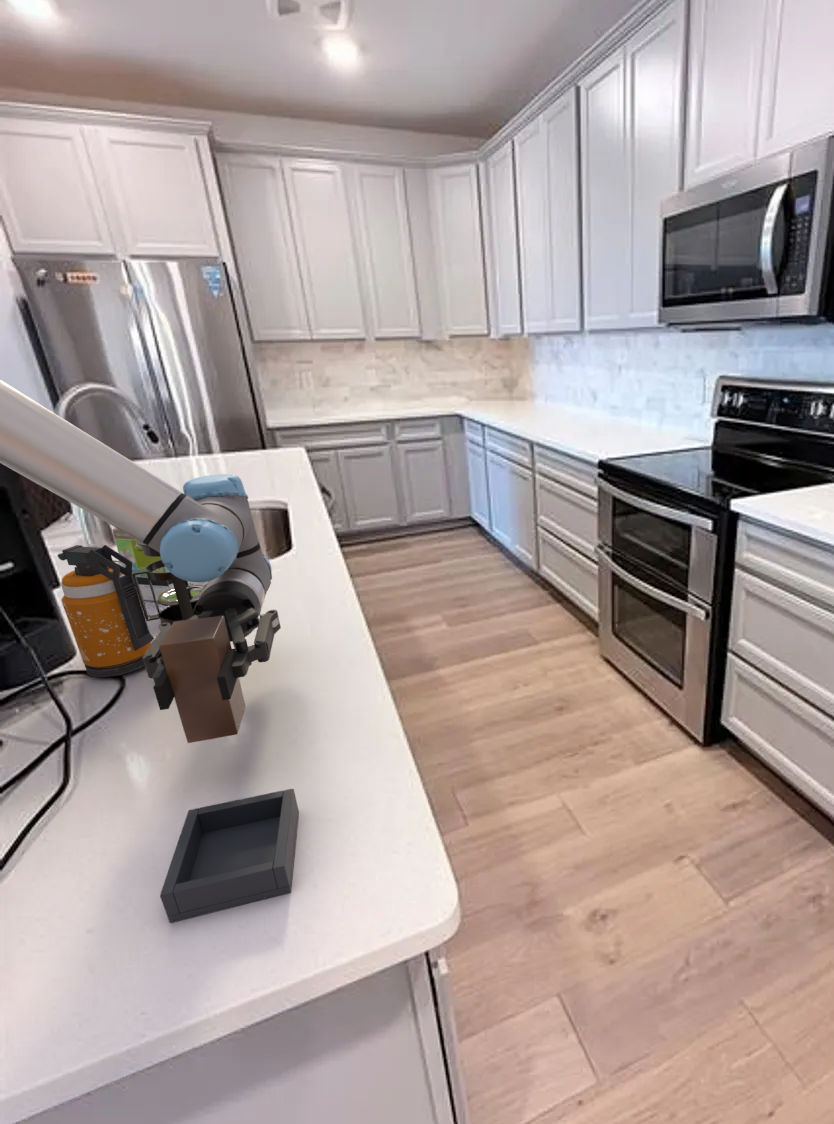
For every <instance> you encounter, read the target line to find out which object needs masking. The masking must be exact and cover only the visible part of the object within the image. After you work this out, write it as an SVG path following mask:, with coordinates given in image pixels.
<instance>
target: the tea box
mask: <svg viewBox="0 0 834 1124" xmlns="http://www.w3.org/2000/svg"><path fill="white" fill-rule="evenodd" d="M112 534H113V537H114V541H115V545H116V548H117V553H119V554H120V555H122V556H124V557H125V558H127V559H128V560H130V561H131V562H133V565H132V573H133V571H136V570H141V569H145V568H146V567H147V566H148V565H149V564H151V563H153V562H156V561H159V560H161V556H160V557H152V556H146V555H144V553H143V550H142V547H141V546H139V545H138V544H137V539H135V538H133V537H131V536H130V535H128V534H126V533H124V532H123V531H121V530H119V529H117V528H115V527H114V528H112ZM121 566H123V567H126V565H125V564H124V563H121ZM152 572H153V573H166V572H170V571H169V570H168V569H167V568H166V567H162V568H159V569H156V570H154V571H152ZM132 577H133V576H132ZM136 577H137V581H138V584H139V587H140V590H141V594H142V597H143V600H144V601H149V602H150V601H151V602H155V601H154V598H153V595H152V591H151V588H150V585H149V581H148V578H147V575H146V573H145V574H139V575H136ZM150 580H151V579H150ZM208 582H209V581H207V582H189V581H188V585H207V584H208ZM151 583H152V586H153V590H154V593H155V597H157V596H158V595H159V594H161V593H163V592H165V591H167V590H170V589H173V588H174V586H173V582H172V580H151ZM139 600H140V599H139Z"/></svg>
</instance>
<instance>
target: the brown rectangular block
mask: <svg viewBox="0 0 834 1124" xmlns="http://www.w3.org/2000/svg"><path fill="white" fill-rule="evenodd" d="M159 647H160V650H161V654H162V657H163V660H164V664H165V667H166V671H167V674H168V677H169V681H170V684H171V688H172V691H173V695H174V702H175V704H176V708H177V711H178V715H179V718H180V722H181V725H182V728H183V732H184V735H185V739H186V742H187V744H191V743H197V742H203V741H209V740H214V739H220V738H225V737H231V736H238V734H239V732H240V728H241V725H242V721H243V717H244V714H245V710H246V703H245V698H244V694H243V689H242V685H241V681H240V677H239V678H237V681H236V684H235V687H234V690H233V693H232V696H231V699H228V700H222V696H221V692H220V688H219V685H218V681H217V676H218V673H219V671H220V668H221V666H222V663H223V661H224V658H225V655H226V653H227V650H228V649H233V648H232V644H231V642H230V640H229V635H228V631H227V627H226V623H225V619H224V616H216V617H208V618H199V619H191V620H183V621H175V622H173V624H172V625H171V627H170V629H169V630H168V632H167V634H166V635H165V637H164V639H163V640H162V642H161V643H160V645H159Z"/></svg>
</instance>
